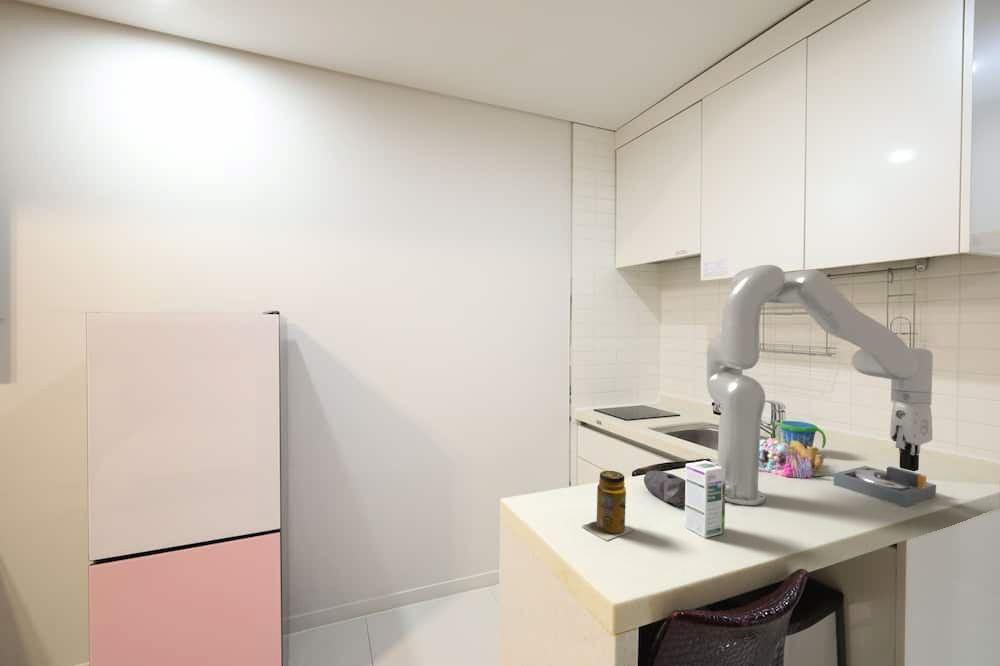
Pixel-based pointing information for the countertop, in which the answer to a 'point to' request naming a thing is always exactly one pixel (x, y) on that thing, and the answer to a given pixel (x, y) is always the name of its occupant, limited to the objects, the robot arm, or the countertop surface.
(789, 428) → the snack cup
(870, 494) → the housing
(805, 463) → the pastel sphere sculpture
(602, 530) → the condiment
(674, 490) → the perforated stone tool
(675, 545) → the countertop surface
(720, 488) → the syrup box
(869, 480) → the dial
